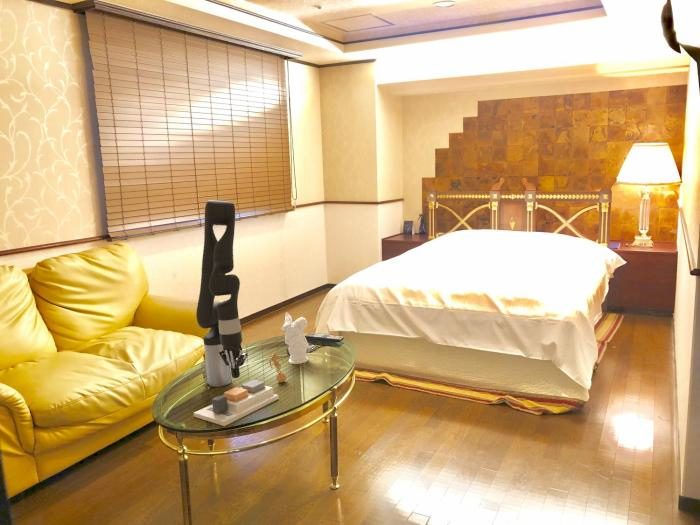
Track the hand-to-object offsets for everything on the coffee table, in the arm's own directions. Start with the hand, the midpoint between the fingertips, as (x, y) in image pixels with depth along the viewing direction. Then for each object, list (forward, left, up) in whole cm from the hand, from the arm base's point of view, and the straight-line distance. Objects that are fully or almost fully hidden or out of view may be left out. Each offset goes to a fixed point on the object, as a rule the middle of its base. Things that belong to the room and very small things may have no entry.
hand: (235, 377), depth 205 cm
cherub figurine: (-15, +47, -12) cm, 50 cm away
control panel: (0, 0, -11) cm, 11 cm away
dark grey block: (0, -8, -10) cm, 13 cm away
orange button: (0, 0, -8) cm, 8 cm away
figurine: (-4, +26, -12) cm, 28 cm away
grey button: (0, +8, -8) cm, 12 cm away
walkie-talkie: (-23, +63, -12) cm, 68 cm away
